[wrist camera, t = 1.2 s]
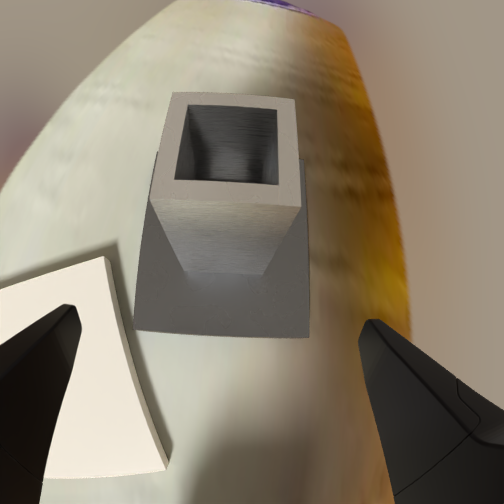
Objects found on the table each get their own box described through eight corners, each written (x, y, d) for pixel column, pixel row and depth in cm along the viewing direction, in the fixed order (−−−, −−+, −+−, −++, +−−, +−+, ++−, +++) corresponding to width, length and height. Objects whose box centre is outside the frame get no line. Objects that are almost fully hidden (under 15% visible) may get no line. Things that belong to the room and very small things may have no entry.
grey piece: (303, 338, 22) (331, 335, 16) (138, 330, 21) (109, 325, 15) (299, 169, 26) (318, 125, 20) (160, 161, 25) (147, 115, 19)
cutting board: (169, 462, 18) (166, 470, 17) (29, 471, 16) (21, 476, 14) (110, 261, 22) (103, 256, 21) (-15, 300, 20) (-24, 297, 18)
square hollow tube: (262, 274, 21) (301, 206, 11) (183, 270, 21) (149, 198, 10) (263, 203, 23) (294, 99, 12) (190, 199, 22) (172, 92, 12)
